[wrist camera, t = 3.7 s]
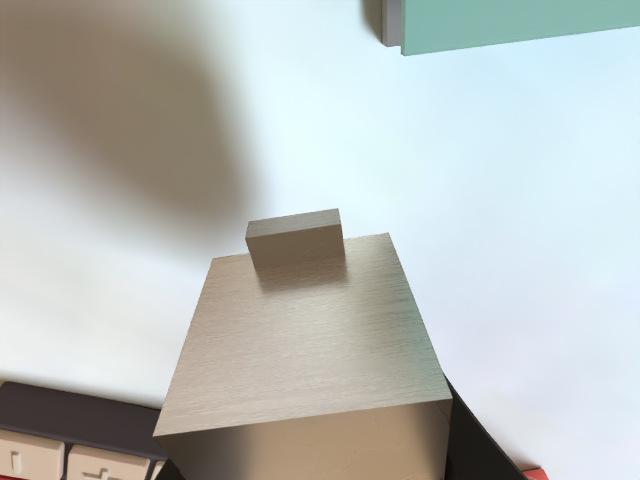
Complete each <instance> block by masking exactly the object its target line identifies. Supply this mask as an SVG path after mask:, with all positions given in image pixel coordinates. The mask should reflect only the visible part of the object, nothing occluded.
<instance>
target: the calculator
mask: <svg viewBox="0 0 640 480" xmlns="http://www.w3.org/2000/svg"><path fill="white" fill-rule="evenodd" d="M160 413H161V411H157V410H153V409H148V408H144V407H139V406H135V405H131V404H126V403H122V402H117V401H113V400H108V399H103V398H98V397H93V396H88V395H82V394H77V393H71V392H65V391H60V390H54V389H49V388H43V387H38V386H32V385H26V384H21V383H15V382H5V383H3V385H2V386H1V387H0V480H154V479H155V477H156V476H157V474H158V473H159V471H160V469H161V468H162V466H163V465H164V463H165V461H166V460H167V458H168V456H167V454H166V453H165V452H164V451H163V449H162V448H161V447H160V445H159V444H158V443H157V441H156V440H155V439H154V438H153V434H154V431H155V428H156V425H157V422H158V419H159V416H160Z"/></svg>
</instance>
